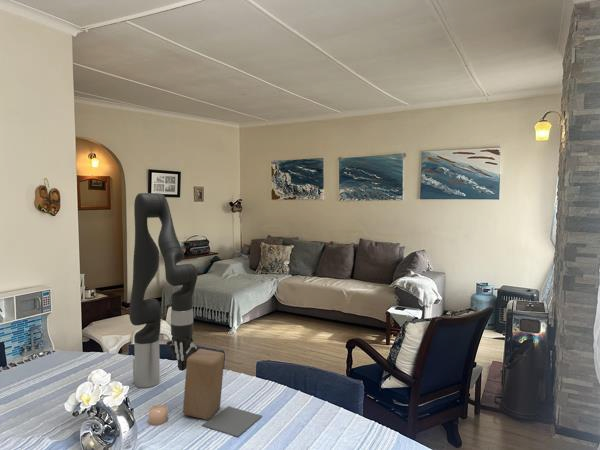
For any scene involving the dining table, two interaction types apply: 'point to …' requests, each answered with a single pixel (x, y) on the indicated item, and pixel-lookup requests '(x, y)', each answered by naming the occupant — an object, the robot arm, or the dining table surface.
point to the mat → (232, 421)
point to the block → (203, 383)
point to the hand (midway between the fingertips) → (182, 369)
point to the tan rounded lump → (158, 414)
